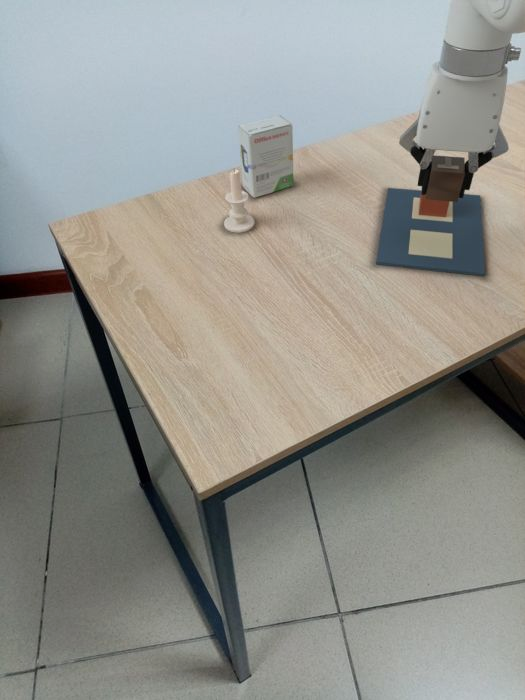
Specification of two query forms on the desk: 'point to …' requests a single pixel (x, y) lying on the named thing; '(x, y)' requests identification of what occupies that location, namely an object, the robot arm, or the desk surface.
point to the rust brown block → (432, 207)
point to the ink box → (266, 155)
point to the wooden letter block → (445, 178)
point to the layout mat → (432, 235)
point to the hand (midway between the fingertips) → (442, 190)
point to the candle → (237, 207)
